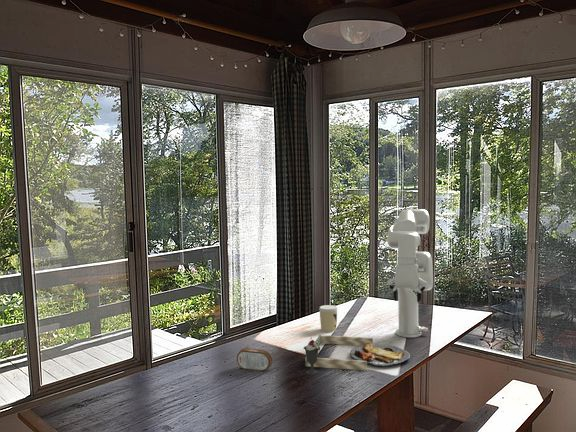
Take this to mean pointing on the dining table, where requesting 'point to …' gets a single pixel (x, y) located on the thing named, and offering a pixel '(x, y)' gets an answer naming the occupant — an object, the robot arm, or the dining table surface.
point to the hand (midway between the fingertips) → (407, 300)
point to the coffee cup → (328, 318)
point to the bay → (341, 362)
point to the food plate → (379, 354)
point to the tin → (254, 359)
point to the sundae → (312, 356)
